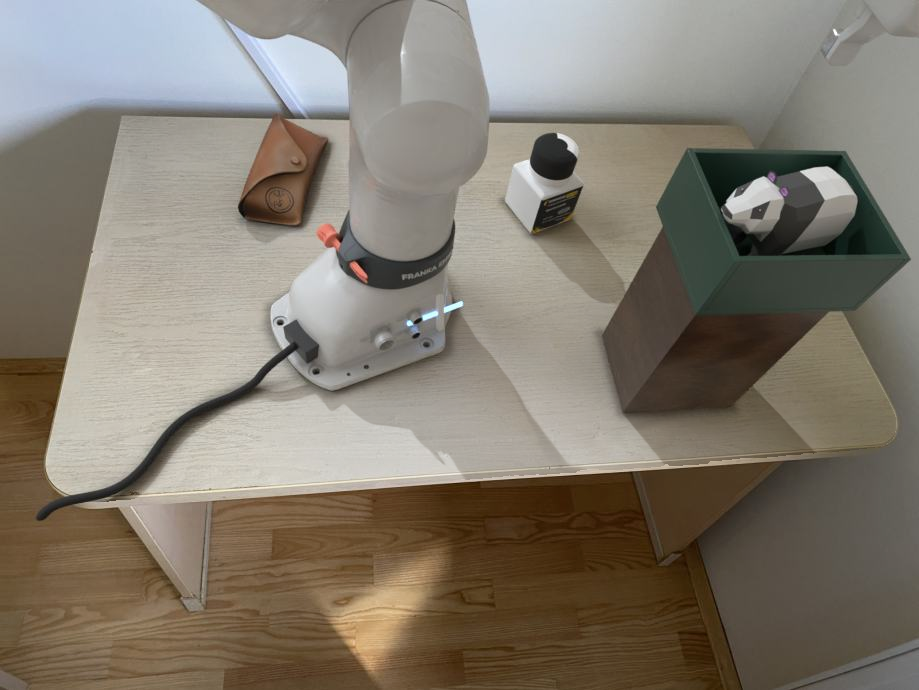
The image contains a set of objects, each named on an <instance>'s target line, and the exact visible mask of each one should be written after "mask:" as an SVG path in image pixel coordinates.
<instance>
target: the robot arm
mask: <svg viewBox="0 0 919 690" xmlns="http://www.w3.org/2000/svg"><path fill="white" fill-rule="evenodd" d="M195 1H196V2H197V3H199V4H201V5H202V6H203V7H205V8H207V9H208V10H210V11H211V12H213V13H214V14H216V15H218V16H220V17H221V18H222V19H223V20H225V21H226V22H228V23H229V24H231V25H233V26H234V27H236V28H237V29H239V30H240V31H242V32H244V33H245V34H246V35H248V36H250V37H253V38H256V39H259V40H267V41H268V40H276V39H279V38H283V37H285V36H287V35H288V36H293V37H295V38H296V37H297V38H300V39H302V40H306V41H308V42H311V43H312V44H313V43H314V44H316V45H318V46H320V47H322V48H325V49H327V50H328V51H329V52H331V53H332V54H333V55H334V56H335V57H336V58H337V59H338V60H339V61H340V62H341V64H342V66H343V67H344V68H345V70H346V78H347V80H346V81H347V95H348V96H347V97H348V118H349V119H348V120H349V121H348V123H349V131H348V132H349V134H348V135H349V147H348V149H349V151H348V152H349V153H348V155H349V156H348V205H349V206H348V207H349V208H348V210H347V213H346V215H345V217H344V219H343V221H342V224H341V227H340V230H339V232H337V230H336V229H335V227H334V226H333V224H331V223H329V222H327V223H324V224H322V225H320V226H319V227H318V229H317V230H316V234H315V235H316V237H317V238H318V239H319V241H321V242H323V245H324V247H325V248H326V249H325V250H323V252H321V254H320V255H318V256H317V257H316V258H315V259H314V260H313V261H312V262H311V263H310V264H309V265H308V266H306V268H305V269H304V270H302V271H301V272H300V274H298V275H297V276H296V277H295V278H294V280H293V281H292V283H291V285H290V289H289V292H287V293H286V294H284V295H283V296H281V298H279V299H277V300H276V301H275V302H274V303H272V305H271V307H270V327H271V330H272V334H273V336H274V339H275V341H276V342H277V344H278V346H279V348H280V349H281V351H279V352H278V353H277V354H275V355H274V356H273V357H272V358H270V359H269V360H268V361H267V362H265V363H264V364H263V366H262V367H261V368H260V369H259V370H258V371H257V372H256V374H255V375H254V376H253V377H252V378H251V379H250V380H249V381H247V382H246V383H245V384H243V385H242V386H240V387H239V388H236V389H234V390H232V391H230V392H228V393H225V394H223V395H220V396H218V397H216V398H212V399H209V400H208V401H205V402H203V403H201V404H199V405H197V406H194V407H192V408H191V409H189V410H187V411H186V412H184V413H183V414H181V415H180V416H179V417H178V418H176V419H175V420H174V421H173V422H172V423H170V425H169V426H168V427H167V428H166V429H165V430H164V431H163V433H162V434H161V435H160V436H159V437H158V439H157V440H156V442H155V443H154V444H153V446H152V447H151V448H150V450H149V451H148V453H147V455H146V456H145V457H144V458H143V460H142V461H141V463H139V464H138V466H137V467H136V468H135V469H134V470H133V471H132V472H130V473H129V474H128V475H127V476H125V477H124V478H123V479H121V480H120V481H118V482H116V483H114V484H112V485H110V486H106V487H104V488H101V489H97V490H92V491H91V490H90V491H86V492H82V493H76V494H71V495H70V494H69V495H66V496H62V497H60V498H56V499H54V500H52V501H50V502H49V503H47V504H46V505H44V506H43V507H42V508H41V509H40V510H39V511H38V512H37V514H36V516H35V520H36V521H37V522H38V521H39V522H41V521H45V520H46V519H47V518H48V517H49V516H50V515H51V514H52V513H54V512H55V511H57V510H60V509H62V508H66V507H69V506H73V505H79V504H84V503H90V502H95V501H99V500H103V499H106V498H110V497H112V496H114V495H117V494H119V493H121V492H123V491H124V490H126V489H127V488H129V487H130V486H132V485H133V484H135V483H136V482H137V481H138V480H140V478H142V476H143V475H145V474H146V472H147V471H148V470H149V469H150V467H152V465H153V464H154V462H155V461H156V460H157V458H158V457H159V455H160V454H161V452H162V451H163V450H164V448H165V447H166V445H167V444H168V442H169V441H170V440H171V438H172V437H173V436H174V435H175V434H176V433H177V432H178V431H179V430H180V429H181V428H182V427H183V426H185V425H186V424H188V423H189V422H190V421H191V420H193V419H194V418H196V417H198V416H200V415H201V414H204V413H206V412H208V411H210V410H212V409H215V408H217V407H221V406H223V405H226V404H228V403H231V402H233V401H235V400H237V399H239V398H241V397H243V396H245V395H246V394H248V393H250V392H251V391H252V390H254V389H255V388H257V387H258V386H259V385H260V384H261V383H262V382H263V380H264V379H265V377H266V376H267V375H268V374H269V373H270V372H271V371H272V370H273V369H274V368H275V367H277V366H278V365H279V364H280V363H282V362H283V361H284V360H285V359H288V361H289V362H290V364H292V366H293V367H294V368H295V369H296V370H297V371H298V372H299V373H300V374H301V376H303V377H304V378H305V379H306V380H308V381H310V382H311V383H312V384H314V385H316V386H318V387H319V388H322V389H324V390H327V391H331V392H333V391H336V390H340V389H343V388H346V387H349V386H352V385H354V384H358V383H360V382H363V381H366V380H369V379H371V378H374V377H376V376H379V375H383V374H385V373H388V372H390V371H393V370H396V369H399V368H402V367H405V366H407V365H410V364H413V363H415V362H418V361H422V360H424V359H427V358H429V357H433V356H435V355H439V354H440V353H442V352H443V351H444V350H445V347H446V326H447V324H448V321H449V319H450V316H451V313H452V311H453V310H456V309H458V308H461V307H463V306H464V303H463V301H462V300H461V301H458V302H456V303H453V294H452V290H451V288H450V284H449V283H450V282H449V272H448V271H449V263H450V260H451V258H452V255H453V251H454V247H455V246H454V245H455V238H456V237H455V236H456V221H455V214H456V207H457V200H458V196H459V190H460V188H461V187H462V186H465V184H467V183H468V182H469V181H470V180H471V179H473V177H475V175H477V173H478V172H479V171H480V169H481V168H482V166H483V164H484V162H485V160H486V157H487V153H488V147H489V137H490V136H489V135H490V115H491V111H490V108H491V107H490V102H491V101H490V94H489V89H488V86H487V81H486V78H485V73H484V68H483V64H482V60H481V56H480V52H479V51H480V50H479V47H478V42H477V39H476V37H475V32H474V28H473V23H472V18H471V15H470V10H469V7H468V1H467V0H195ZM854 16H855V17H856V18H857V20H855V21H854V22H853V23H852V24H851V25H849V26H848V27H847V28H845V29H842V28H831V30H830V32H829V33H828V35H827V37H826V40H825V42H823V43H822V45H821V47H820V51H821V53H822V55H823V57H824V59H825V60H826V61H827V63H828V65H830V66H833V67H834V66H838V67H840V66H841V67H845V66H848V65H850V64H851V63H852V62H853V61H854V59H855V58H856V57H857V55H858V54H859V53H860V51H861V50H862V48H863V47H864V45H865V44H868V43H870V42H871V41H873V40H875V39H877V38H879V37H881V36H882V35H883V34H885V33H887V34H888V35H891V36H894V37H902V38H919V0H862V1H861V3H860V4H859V6H858V7H857V9H856V11H855V12H854ZM279 324H280V325H279ZM426 346H428V347H426ZM316 372H318V373H317V374H315V373H316Z"/></svg>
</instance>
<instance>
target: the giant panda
mask: <svg viewBox="0 0 919 690" xmlns="http://www.w3.org/2000/svg"><path fill="white" fill-rule="evenodd" d="M857 202H858V201H857V196H856V195H855V193H854V190H853V188H852V186H851V185H849V184H848V183H847V181H846V180H845V179H844V178H842V177H841V176H840V175H839V174H837V173H836V172H835V171H834V170H833V169H831V168H829V167H815V168H811V169H807V170H803V171H799V172H795V173H791V174H787V175H783V176H778V177H777V175H776V173H775V172H773V171H770V172H769V173H768V175H767V178H766V177H764V176H763V177H761V178H758V179H756V180H753V181H751V182H749V183H747V184H744V185H742V186H740V187H738V188H736V190H735V191H734V192H733V193H732V194H731V196H730V197H729V198H728V199H727V201H726V204H725V205H723V206H722V207H721V211H722V212H723V216H724V218H725V219H726V220H727V221H728V222H729V223H730V225H729V226H728V227H727V228H728V231H729V233H730V235H731V237H732V240H733V242H734V244H735V245H738V244H740V243H742V242H743V241H744V239H745V238H746V237H747V236H748V238H749V239H750V240H751V241H752V243H753V246H752V249H751V253H750V254H749V255H747V256H779V255H781V254H782V255H783V256H796V255H811V254H812V253H814V252H815V251H816V250H818V249H819V248H821V247H823V246H825V245H827V244H828V243H829V242H831V241H832V240H834V239H835V238H836V237H838V236H839V235H840V234H841V233H842V232H843V231H844V229H845V228H846V227H847V225H848V224H849V222H850V221H851V220H852V218H853V217H854V215H855V211H856V206H857Z"/></svg>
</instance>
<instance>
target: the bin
mask: <svg viewBox="0 0 919 690" xmlns="http://www.w3.org/2000/svg"><path fill="white" fill-rule="evenodd" d="M815 167H829V168H831V169H833V170H834V171H835V172H836V173H837V174H839V175H840V176H841V177H842V178H844V179H845V180H846V181H847V183H848V184H849V185H851V186H852V188H853V190H854V193H855V195H856V196H857V201H858V202H857V206H856V211H855V215H854V217H853V218H852V220H851V221H850V222H849V224H848V225H847V227H846V228H845V229H844V231H843V232H842V233H841V234H840V235H839V236H838V237H836V238H835V239H834V240H832V241H831V242H829V243H828V244H827V245H825V246H823V247H821V248H819V249H818V250H816V251H815V252H814V253H812V254H811V255H796V256H783V255H782V254H781V255H779V256H747V255H749V254H750V253H751V249H752V246H753V243H752V241H751V240H750V239H749V238H748V236H747V237H746V238H745V239H744V241H743V242H742V243H740V244H738V245H735V244H734V242H733V240H732V237H731V235H730V233H729V231H728V228H727V227H728V226H729V225H730V223H729V222H728V221H727V220H726V219H725V218H724V216H723V212H722V211H721V207H722V206H723V205H725V204H726V201H727V199H728V198H729V197H730V196H731V194H732V193H733V192H734V191H735V190H736V188H738V187H740V186H742V185H744V184H747V183H749V182H751V181H753V180H756V179H758V178H761V177H763V176H764V177H766V178H767V175H768V173H769V172H770V171H773V172H775V173H776V175H777V177H778V176H783V175H787V174H791V173H795V172H799V171H803V170H807V169H811V168H815ZM655 209H656V211H657V214H658V217H659V219H660V223H661V225H662V227H663V228H664V231H665V233H666V236H667V239H668V242H669V244H670V247H671V250H672V253H673V255H674V258H675V261H676V263H677V266H678V269H679V272H680V274H681V277H682V280H683V283H684V285H685V288H686V291H687V293H688V296H689V299H690V302H691V304H692V307H693V310H694V313H695V315H725V314H762V313H798V312H828V313H832V312H833V313H834V312H855V311H857V310H858V309H859V308H860V307H861V306H862V305H863V304H864V303H866V302H867V301H868V300H869V299H870V298H871V297H872V296H873V295H874V294H875V293H876V292H877V291H879V290H880V289H881V288H882V287H883V286H884V285H885V284H886V283H888V281H890V279H892V278H893V277H894V276H896V274H897V273H898V272H900V271H901V269H903V268H904V267H905V266H906V265H907V264H909V262H910V261H911V260H912V258H911V256H910V255H909V253H908V251H907V250H906V248H905V246H904V245H903V243H902V242H901V240H900V238H899V237H898V235H897V233H896V232H895V230H894V229H893V226H892V225H891V224H890V221H889V220H888V218H887V217H886V215H885V213H884V212H883V210H882V209H881V207H880V205H879V203H878V202H877V200H876V198H875V197H874V195H873V193H872V192H871V190H870V189H869V187H868V185H867V184H866V182H865V180H864V179H863V177H862V175H861V173H860V172H859V171H858V168H857V167H856V165H855V164H854V162H853V161H852V159H851V157H850V155H849V154H848V152H847V151H846V150H819V149H817V150H816V149H815V150H813V149H812V150H811V149H768V148H767V149H765V148H764V149H762V148H760V149H759V148H758V149H757V148H712V147H711V148H709V147H708V148H707V147H706V148H704V147H687V148H686V149H685V151H684V153H683V154H682V157H681V159H680V160H679V162H678V164H677V165H676V167H675V169H674V171H673V173H672V175H671V178H670V179H669V181H668V183H667V185H666V186H665V189H664V191H663V193H662V194H661V196H660V198H659V200H658V201H657V204H656V206H655Z"/></svg>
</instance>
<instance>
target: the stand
mask: <svg viewBox="0 0 919 690" xmlns="http://www.w3.org/2000/svg"><path fill="white" fill-rule="evenodd" d="M828 314H829V312H798V313H762V314H725V315H695V313H694V310H693V307H692V304H691V302H690V299H689V296H688V293H687V291H686V288H685V285H684V283H683V280H682V277H681V274H680V272H679V269H678V266H677V263H676V261H675V258H674V255H673V253H672V250H671V247H670V244H669V242H668V239H667V236H666V233H665V231H664V228H663V226H662V227H661V229H660V230H659V233H658V234H657V236H656V238H655V240H654V241H653V243H652V245H651V247H650V248H649V250H648V252H647V253H646V256H645V257H644V259H643V261H642V262H641V264H640V266H639V268H638V269H637V272H636V274H635V275H634V277H633V279H632V281H631V282H630V283H629V286H628V288H627V290H626V292H624V295H623V296H622V298H621V300H620V302H619V304H618V306H617V308H615V311H614V313H613V314H612V316H611V318H610V320H609V322H608V323H607V325H606V326H605V329H604V330H603V332H602V333H601V338H602V342H603V346H604V349H605V352H606V353H605V354H606V356H607V360H608V364H609V367H610V372H611V375H612V378H613V382H614V386H615V390H616V394H617V397H618V400H619V404H620V408H621V412H622V413H623V414H629V413H646V412H667V411H684V410H703V409H704V410H705V409H721V408H731V407H733V405H735V403H736V402H738V401H739V400H740V399H741V398H742V397H743V396H744V395H745V394H746V393H747V392H748V391H749V390H750V389H751V388H752V387H753V386H754V385H755V384H756V383H757V382H758V381H759V380H760V379H761V378H763V377H764V376H765V375H766V374H767V372H769V371H770V370H771V369H772V368H773V367H774V366H775V365H776V364H777V363H778V362H779V361H780V360H781V359H782V358H783V357H784V356H785V355H786V354H787V353H788V352H789V351H790V350H791V349H793V348H794V346H796V345H797V344H798V343H799V342H800V341H801V340H802V339H803V338H804V337H805V336H806V335H807V334H808V333H809V332H810V331H811V330H812V329H813V328H814V327H815V326H816V325H817V324H818V323H819V322H821V320H823V318H825V317H826V315H828Z"/></svg>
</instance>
